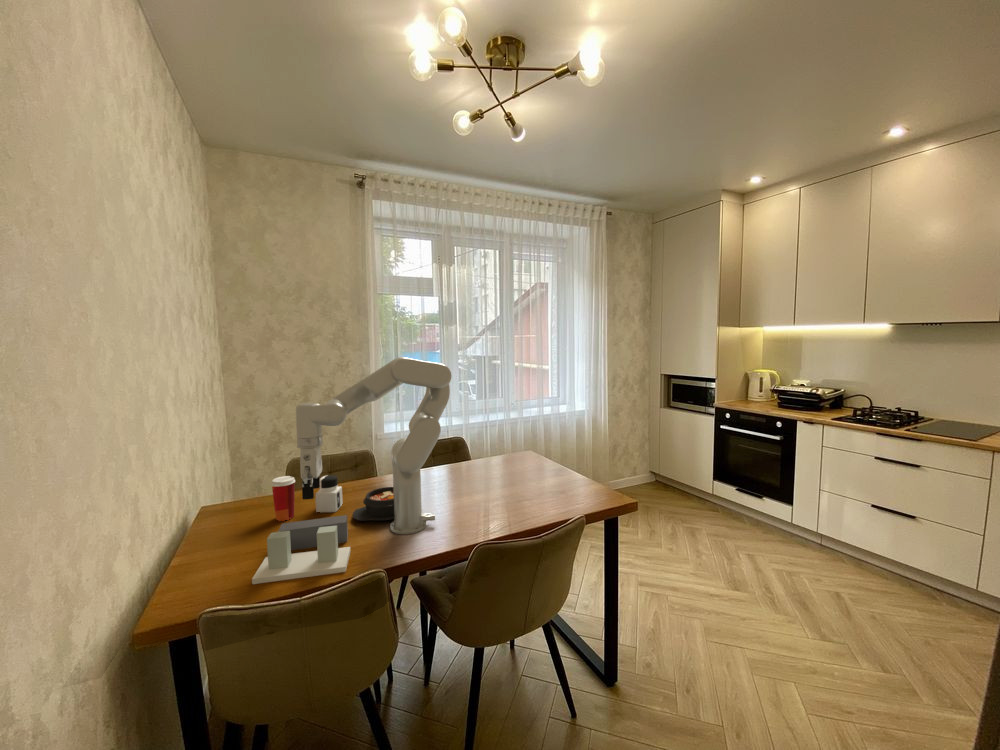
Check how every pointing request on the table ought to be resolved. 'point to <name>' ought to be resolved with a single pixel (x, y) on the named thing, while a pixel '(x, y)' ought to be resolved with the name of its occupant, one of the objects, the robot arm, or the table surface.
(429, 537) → the table surface
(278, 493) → the coffee cup
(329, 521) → the bar
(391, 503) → the casserole
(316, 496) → the container
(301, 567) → the stand
